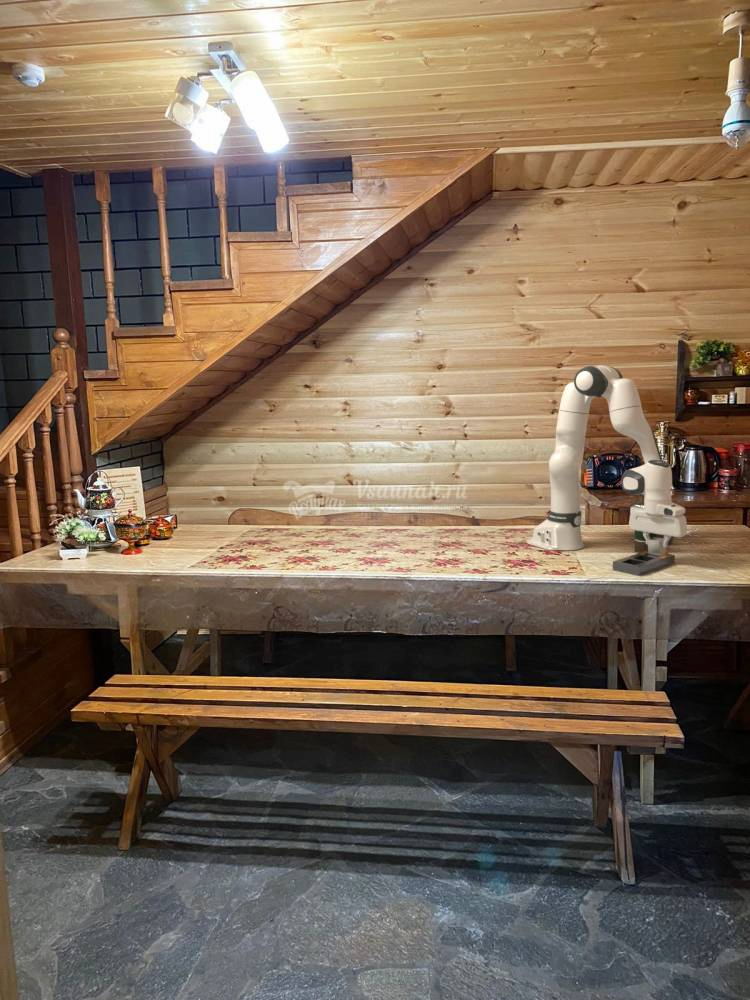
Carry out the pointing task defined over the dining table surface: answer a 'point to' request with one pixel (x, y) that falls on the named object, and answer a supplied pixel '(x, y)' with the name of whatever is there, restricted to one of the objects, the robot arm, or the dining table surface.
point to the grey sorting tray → (642, 563)
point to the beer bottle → (641, 538)
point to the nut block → (656, 547)
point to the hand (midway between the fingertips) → (656, 545)
